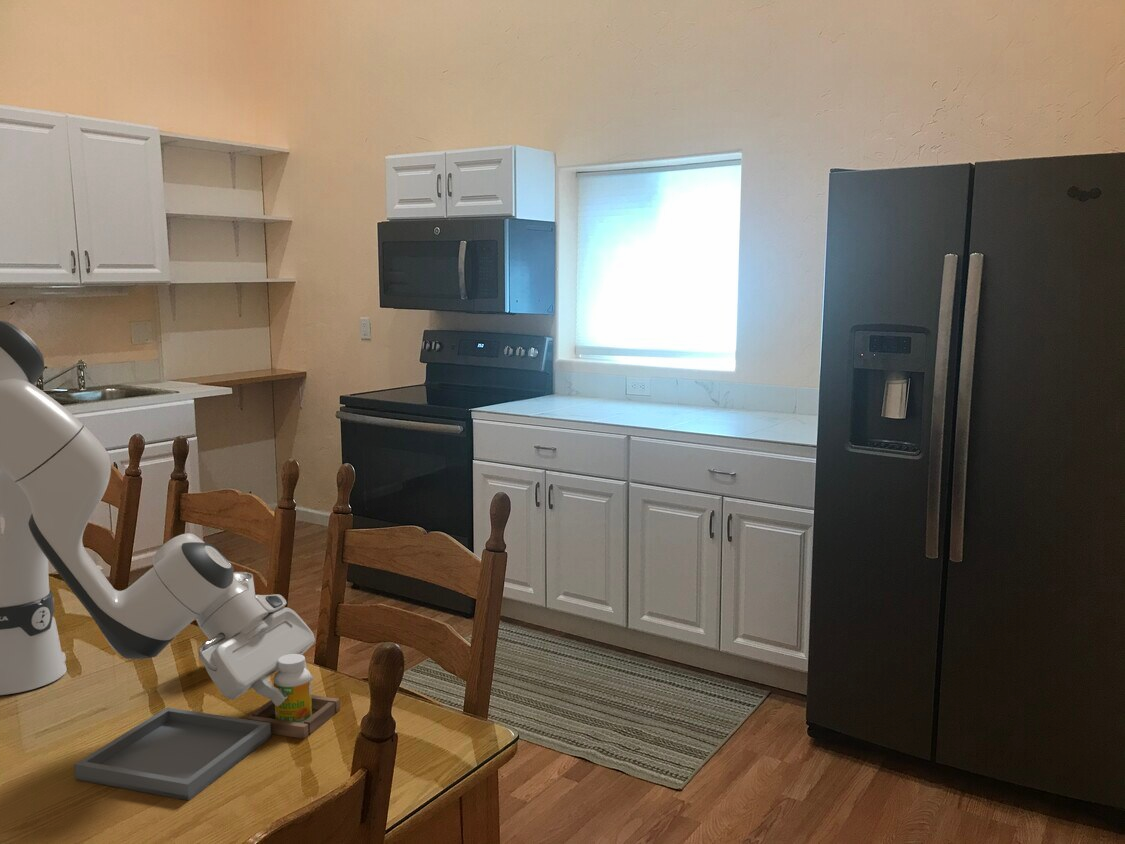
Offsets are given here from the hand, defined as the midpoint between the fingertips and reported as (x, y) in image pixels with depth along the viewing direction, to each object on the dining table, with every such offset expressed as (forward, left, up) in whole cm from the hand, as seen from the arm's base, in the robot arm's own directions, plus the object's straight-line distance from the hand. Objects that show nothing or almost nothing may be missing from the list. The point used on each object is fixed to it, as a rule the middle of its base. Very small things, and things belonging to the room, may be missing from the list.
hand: (296, 692), depth 142 cm
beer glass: (-24, +18, -5) cm, 30 cm away
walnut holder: (-1, 0, -4) cm, 4 cm away
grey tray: (-10, -15, -4) cm, 18 cm away
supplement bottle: (-1, 0, -5) cm, 5 cm away
